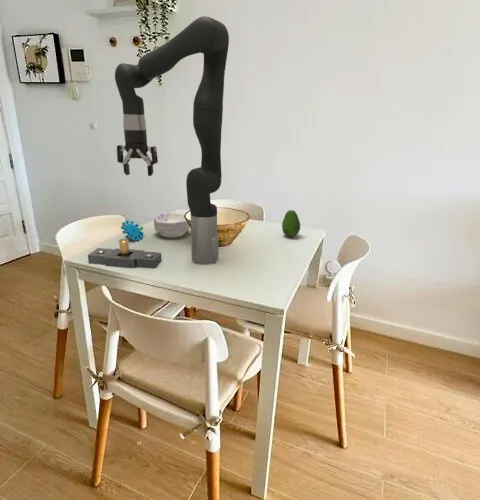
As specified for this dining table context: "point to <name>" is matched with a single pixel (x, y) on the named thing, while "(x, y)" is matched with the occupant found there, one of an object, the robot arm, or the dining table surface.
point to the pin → (124, 247)
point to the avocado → (291, 224)
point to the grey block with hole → (125, 258)
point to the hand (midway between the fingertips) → (138, 175)
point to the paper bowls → (171, 224)
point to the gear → (132, 230)
